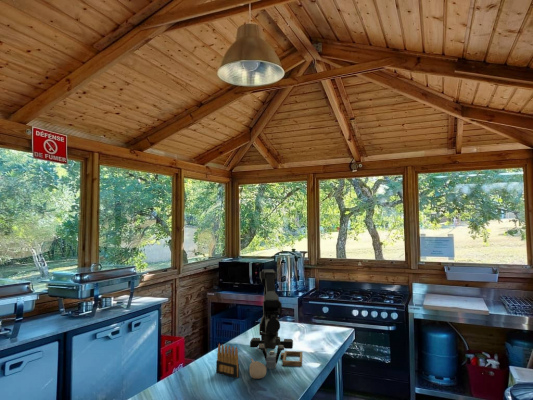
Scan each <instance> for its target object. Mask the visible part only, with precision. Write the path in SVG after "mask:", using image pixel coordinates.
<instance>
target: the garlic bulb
mask: <svg viewBox="0 0 533 400" xmlns="http://www.w3.org/2000/svg"><path fill="white" fill-rule="evenodd" d="M250 360H251V363H250V364H249V375H250V377H251V378H252V379H256V380H257V379H259V380H260V379H263V378H264V377H266V376H267V375H266V374H267V368H266V364H264V363H262V362H260V361H255V360H254V359H253V358H250Z"/></svg>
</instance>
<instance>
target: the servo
mask: <svg viewBox="0 0 533 400" xmlns="http://www.w3.org/2000/svg"><path fill="white" fill-rule="evenodd" d="M276 356H277V352H275V350H270V351H269V352H267V357H266V361H265V366H266V369H267V370H268V369H271V370H274V369H276V367H277V364H278V363H277V364H276Z"/></svg>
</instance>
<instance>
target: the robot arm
mask: <svg viewBox="0 0 533 400" xmlns="http://www.w3.org/2000/svg"><path fill="white" fill-rule="evenodd" d="M277 273H278V272H277V271H275V270H274V269H262V271H260V272H259V279H260V281H261V284H262V285H263V288H264V289H263V300H262V311H263V313H262V314H263V315H262V317H261V318H260V322H259V325H258V326H259V329H258V330H259V332H258V333H259V336H260V337H252V338H251V340H250V342H249V347H250V348H258V350H260V351H261V352H262V354H263V357H264V360H265V362H266V357H267V354H268V349H269V350H270V349H272V350H275V349H276V353H277V356H276V364H278V361H279V359H280V356H281V353H282V351H285V349H288V350H292V349H293V346H294V340H293V338H283V340H281V336H279V331H280V329H281V323H280V321H279V316H282V313H283V306H282V305H283V304H282V302H281V300H280V299H279V295H278V294H277V293H276V287H275V283H276V280H277V278H278V274H277Z"/></svg>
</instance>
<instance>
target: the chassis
mask: <svg viewBox="0 0 533 400" xmlns="http://www.w3.org/2000/svg"><path fill="white" fill-rule="evenodd" d="M303 355H304V354H303V351H302V350H301V351H297V350H293V351H292V350H284V352H281V353H280V359H282V366H290V367H302V366H303ZM287 356H289V357H291V356H292V357H295V356H296V357H299V360H287Z"/></svg>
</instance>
